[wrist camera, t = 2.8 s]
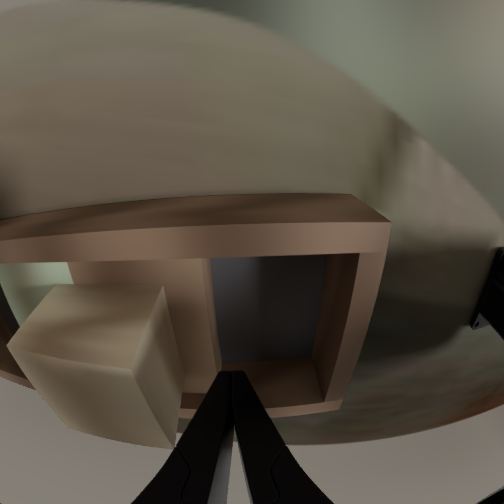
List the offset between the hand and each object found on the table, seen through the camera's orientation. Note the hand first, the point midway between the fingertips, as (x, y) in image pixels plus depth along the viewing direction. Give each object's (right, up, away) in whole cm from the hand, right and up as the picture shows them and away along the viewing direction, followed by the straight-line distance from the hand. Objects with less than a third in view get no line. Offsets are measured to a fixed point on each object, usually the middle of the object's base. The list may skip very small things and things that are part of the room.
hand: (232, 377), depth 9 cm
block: (-5, +1, +2) cm, 5 cm away
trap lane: (-7, +2, +4) cm, 8 cm away
